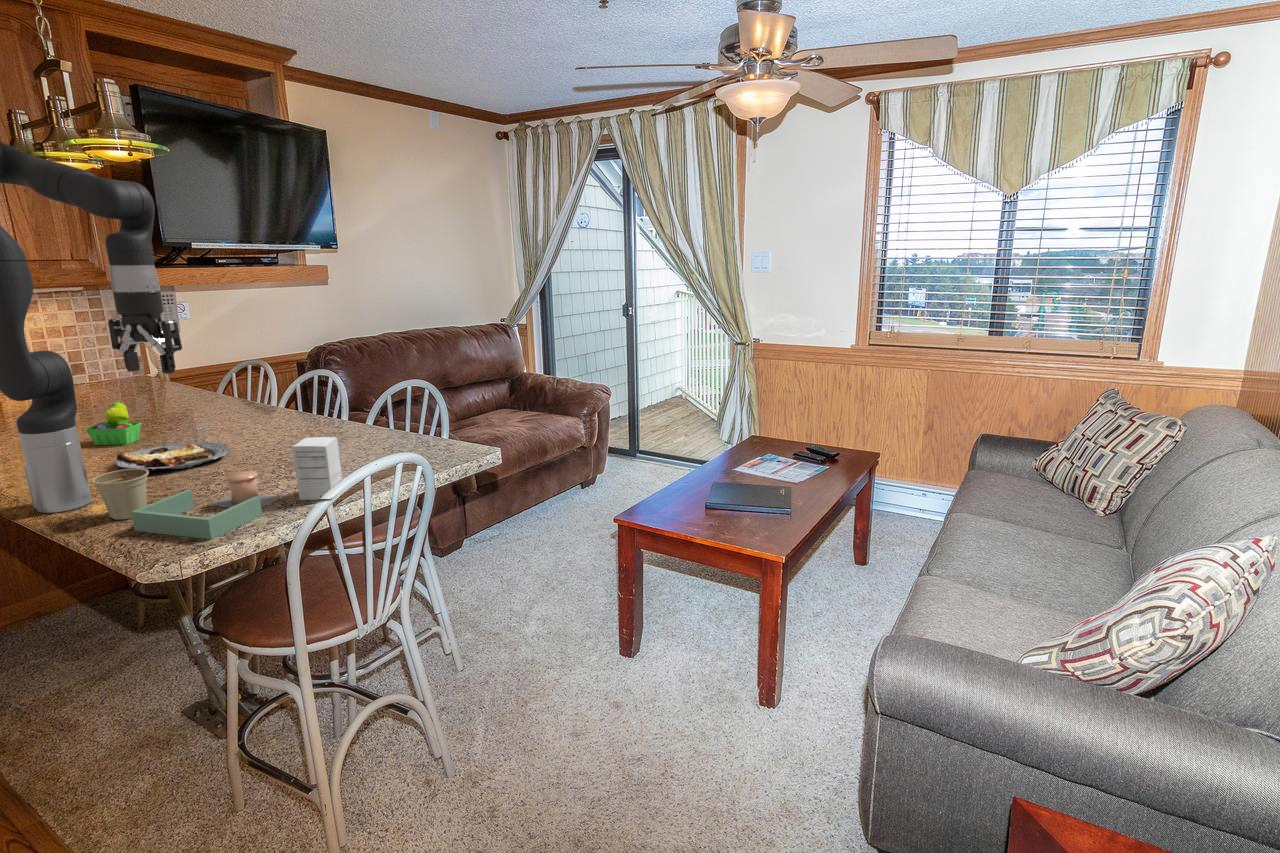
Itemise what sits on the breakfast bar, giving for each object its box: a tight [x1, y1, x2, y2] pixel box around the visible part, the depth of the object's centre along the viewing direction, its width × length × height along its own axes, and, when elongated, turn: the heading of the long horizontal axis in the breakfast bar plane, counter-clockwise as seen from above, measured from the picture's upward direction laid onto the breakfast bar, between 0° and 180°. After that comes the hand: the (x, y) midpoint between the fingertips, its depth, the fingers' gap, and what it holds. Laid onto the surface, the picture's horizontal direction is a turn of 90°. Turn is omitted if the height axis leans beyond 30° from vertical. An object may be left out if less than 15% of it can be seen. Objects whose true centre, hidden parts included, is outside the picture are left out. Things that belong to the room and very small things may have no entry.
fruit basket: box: [84, 401, 142, 446], centre depth 193 cm, size 11×9×11 cm
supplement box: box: [292, 436, 343, 501], centre depth 152 cm, size 7×7×13 cm
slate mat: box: [208, 494, 283, 509], centre depth 149 cm, size 12×8×1 cm, turn 77°
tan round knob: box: [226, 470, 260, 505], centre depth 148 cm, size 6×6×6 cm
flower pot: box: [91, 468, 150, 521], centre depth 140 cm, size 9×9×9 cm
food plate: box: [113, 441, 231, 472], centre depth 177 cm, size 25×23×4 cm
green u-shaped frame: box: [131, 489, 263, 540], centre depth 137 cm, size 18×13×4 cm
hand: (151, 372), depth 135 cm, fingers open, 8 cm apart
